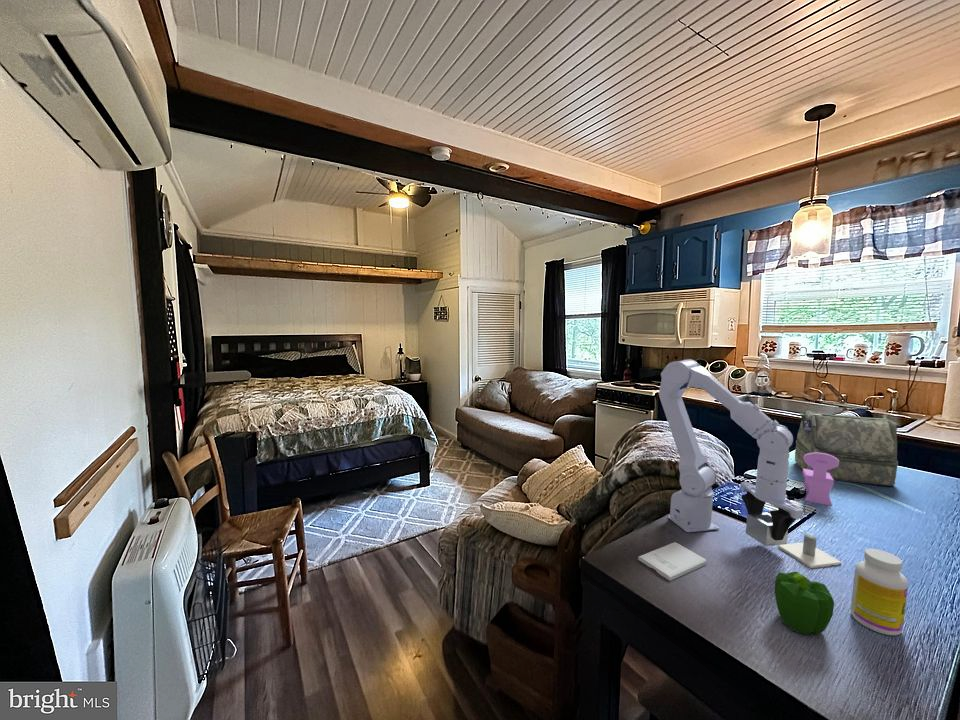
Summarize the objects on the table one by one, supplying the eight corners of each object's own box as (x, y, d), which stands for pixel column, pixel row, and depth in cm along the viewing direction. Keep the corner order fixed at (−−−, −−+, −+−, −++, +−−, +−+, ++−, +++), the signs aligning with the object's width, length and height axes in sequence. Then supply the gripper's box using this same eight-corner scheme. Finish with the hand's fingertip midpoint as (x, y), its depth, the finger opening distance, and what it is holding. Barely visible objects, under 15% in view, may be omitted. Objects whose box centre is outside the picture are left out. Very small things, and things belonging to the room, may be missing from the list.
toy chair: (830, 495, 122) (835, 448, 120) (836, 506, 115) (842, 457, 113) (796, 489, 126) (800, 444, 125) (800, 499, 119) (805, 452, 117)
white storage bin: (765, 546, 90) (767, 525, 89) (745, 533, 95) (747, 513, 95) (786, 544, 91) (788, 523, 90) (765, 531, 96) (767, 512, 96)
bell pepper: (801, 606, 75) (806, 557, 73) (843, 642, 66) (849, 587, 65) (759, 607, 74) (763, 558, 73) (795, 643, 66) (800, 588, 65)
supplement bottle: (908, 643, 66) (918, 572, 65) (855, 627, 70) (863, 559, 68) (894, 618, 72) (902, 552, 70) (845, 604, 75) (852, 541, 74)
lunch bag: (802, 477, 136) (808, 416, 133) (786, 460, 152) (792, 405, 150) (904, 491, 125) (912, 425, 123) (875, 471, 142) (882, 412, 139)
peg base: (811, 568, 86) (813, 548, 86) (777, 547, 94) (779, 529, 93) (841, 564, 87) (843, 545, 87) (806, 544, 95) (807, 526, 95)
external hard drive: (706, 566, 87) (669, 583, 82) (673, 547, 95) (637, 561, 89) (707, 559, 87) (670, 576, 82) (674, 541, 94) (638, 555, 89)
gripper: (817, 489, 85) (810, 548, 86) (759, 464, 99) (754, 515, 101) (789, 491, 84) (783, 551, 85) (735, 466, 98) (730, 517, 100)
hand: (766, 532), depth 93 cm, fingers closed on white storage bin, 6 cm apart
